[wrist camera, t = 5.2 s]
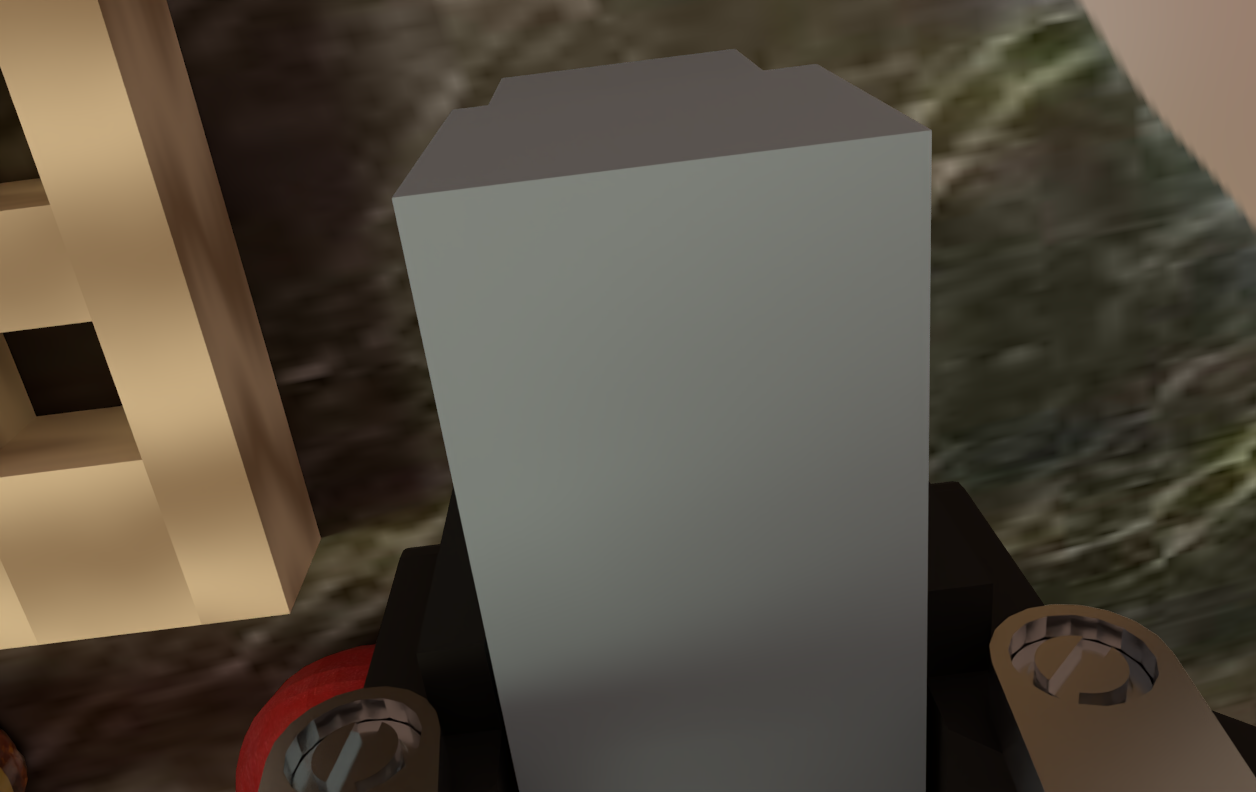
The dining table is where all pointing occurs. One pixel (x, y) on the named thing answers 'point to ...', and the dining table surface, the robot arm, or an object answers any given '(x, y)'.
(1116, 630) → the robot arm
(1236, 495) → the dining table surface
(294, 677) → the tomato
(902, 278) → the clip
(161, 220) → the slotted wooden base
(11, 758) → the sauce bottle
